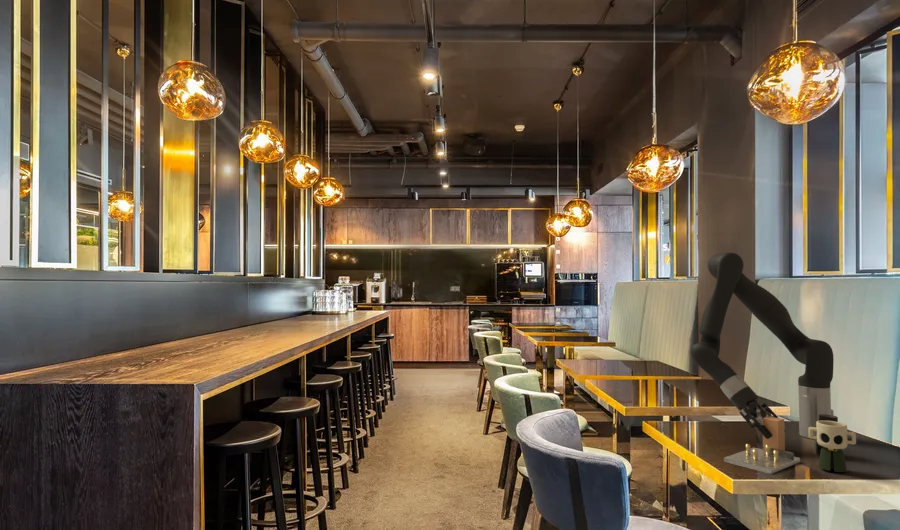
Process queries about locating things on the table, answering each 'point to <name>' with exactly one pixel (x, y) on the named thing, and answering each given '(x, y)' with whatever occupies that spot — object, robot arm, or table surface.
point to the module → (774, 433)
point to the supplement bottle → (817, 447)
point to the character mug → (832, 444)
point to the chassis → (763, 459)
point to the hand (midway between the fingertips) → (776, 435)
